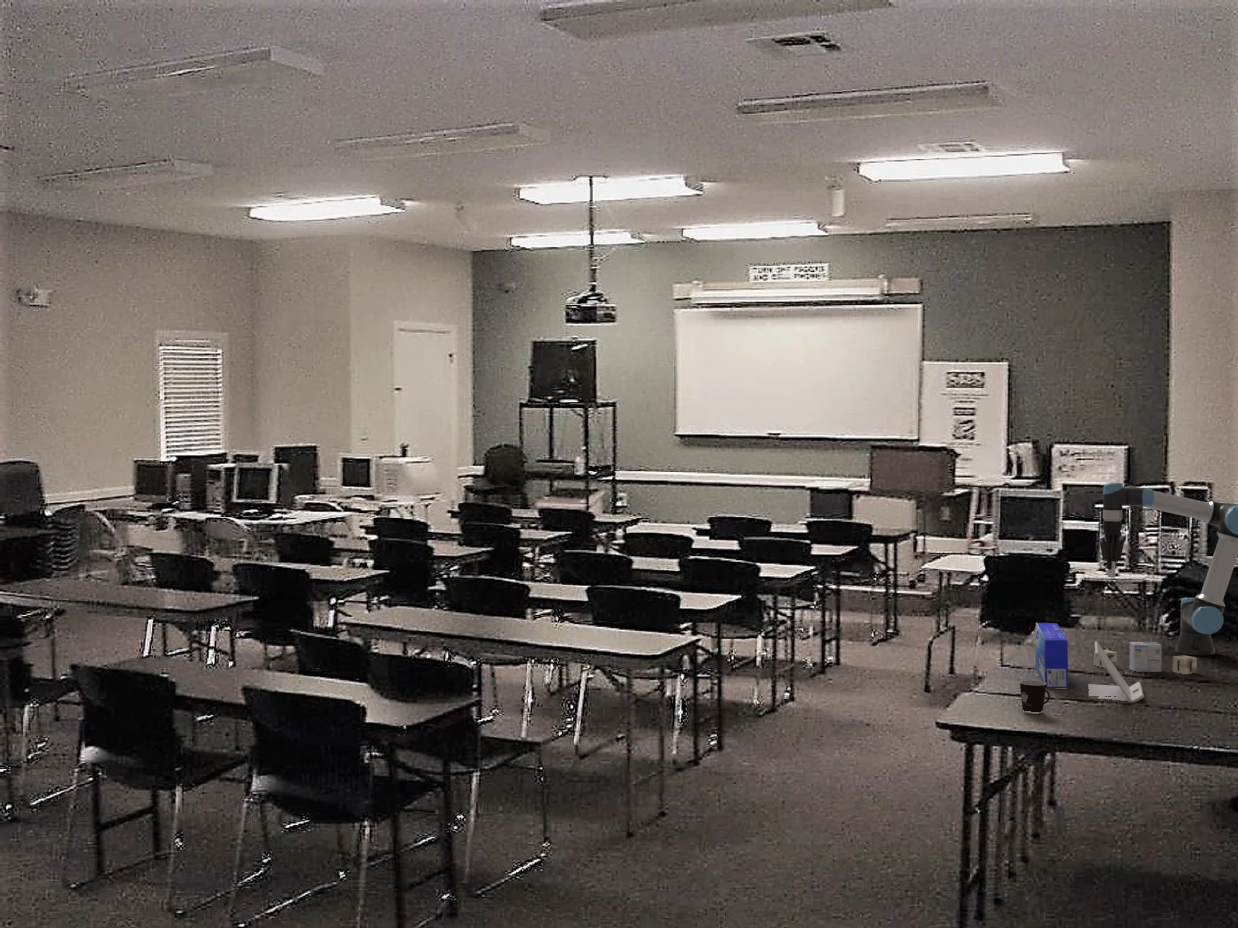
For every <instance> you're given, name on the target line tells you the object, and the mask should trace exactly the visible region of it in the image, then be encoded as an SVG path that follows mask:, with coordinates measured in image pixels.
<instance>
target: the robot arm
mask: <svg viewBox="0 0 1238 928" xmlns="http://www.w3.org/2000/svg"><path fill="white" fill-rule="evenodd" d="M1123 507H1143V508H1147V509H1152V510H1156V511H1160V512H1164V513H1168V514H1169V513H1170V514H1174V515H1179V516H1183V517H1187V518H1192V519H1196V520H1199V521H1203V522H1204V523H1205V524H1207V525H1211V526H1214V527H1217V531H1216V535H1217V537H1218V540H1217V543H1216V547H1215V550H1214V553H1213V555H1212V559H1211V561H1210V565H1209V567H1208V570H1207V574H1206V576H1205V579H1204V582H1203V586H1202V589H1201V592H1200V593H1199V594H1197V595H1196V596H1195V597H1183V598H1181V602H1180V634H1179V637H1178V639H1177V643H1176V644H1175V652H1176V653H1179V654H1182V655H1188V656H1189V655H1190V656H1212V655H1213V656H1214V655H1215V654H1216V648H1215V646H1214V642H1213V638H1212V634H1215V633H1217V632H1218V631H1220V630H1221V629H1222V627H1223V624H1224V616H1223V614H1224V612H1225V607H1226V604H1225V602H1224V597H1225V595H1226V592H1227V589H1228V585H1229V583H1230V580H1231V577H1232V573H1233V571H1234V567H1235V566H1236V565H1235V564H1236V561H1237V559H1238V504H1237V503H1231V502H1230V503H1228V502H1218V501H1214V500H1210V501H1209V502H1207V501H1203V500H1197V499H1194V498H1189V497H1184V496H1180V495H1174V494H1171V493H1165V492H1161V491H1156V490H1153V489H1152V488H1150V487H1137V486H1136V485H1127V486H1125V487H1124V484H1123V483H1122V482H1106V483H1104V485H1103V491H1102V519H1103V521H1102V530H1103V533H1102V535H1101V537H1097V540H1098V541H1099V545H1100V551H1101V558H1102V560H1103V561H1105V562H1106V569H1107V578H1111V579H1113V578H1116V570H1117V563H1118V562H1119V561H1120V560H1121V559H1122V555H1123V549H1124V546H1125V542H1126V540H1127V537H1126V536H1124V535H1122V531H1121V530H1122V529H1123V521H1122V520H1123Z"/></svg>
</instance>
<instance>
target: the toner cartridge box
mask: <svg viewBox="0 0 1238 928" xmlns="http://www.w3.org/2000/svg"><path fill="white" fill-rule="evenodd" d="M1068 650H1069V646H1068V638H1067V637H1066V635H1065V634H1064V632H1063V631H1062V629H1061V628H1060V626H1059V624H1058V623H1055V622H1052V623H1051V622H1035V669H1036V671H1037V673H1038V675H1039V678H1040V681H1042V682H1045V683H1047V684H1046V688H1068V689H1069V660H1068V658H1069V656H1068V655H1069V653H1068V652H1069V651H1068Z"/></svg>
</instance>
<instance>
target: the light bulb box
mask: <svg viewBox="0 0 1238 928" xmlns="http://www.w3.org/2000/svg"><path fill="white" fill-rule="evenodd" d="M1129 669H1130V670H1131V671H1132V670H1133V671H1132V672H1134V671H1136V673H1139V672H1143V673H1146V672H1147V673H1148V672H1149V673H1161V672H1162V644H1161V643H1158V642H1157V641H1154V642H1153V641H1129Z"/></svg>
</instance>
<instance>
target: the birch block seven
mask: <svg viewBox="0 0 1238 928" xmlns="http://www.w3.org/2000/svg"><path fill="white" fill-rule="evenodd" d="M1103 651H1104V652H1105V653H1106V655H1107V656H1108V658H1109V659H1110V661H1111V662H1112V663H1113V665H1114V666H1116V667H1117V651H1112V650H1108V649H1103ZM1094 665H1096V666H1095V667H1097V666H1099V667H1098V668H1101V667H1104V668H1103V669H1106V668H1105V666H1104V665H1103V663H1102V662H1101V660H1100V659H1099V658H1098V656H1097V655H1096V652H1095V650H1093V666H1094Z"/></svg>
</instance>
